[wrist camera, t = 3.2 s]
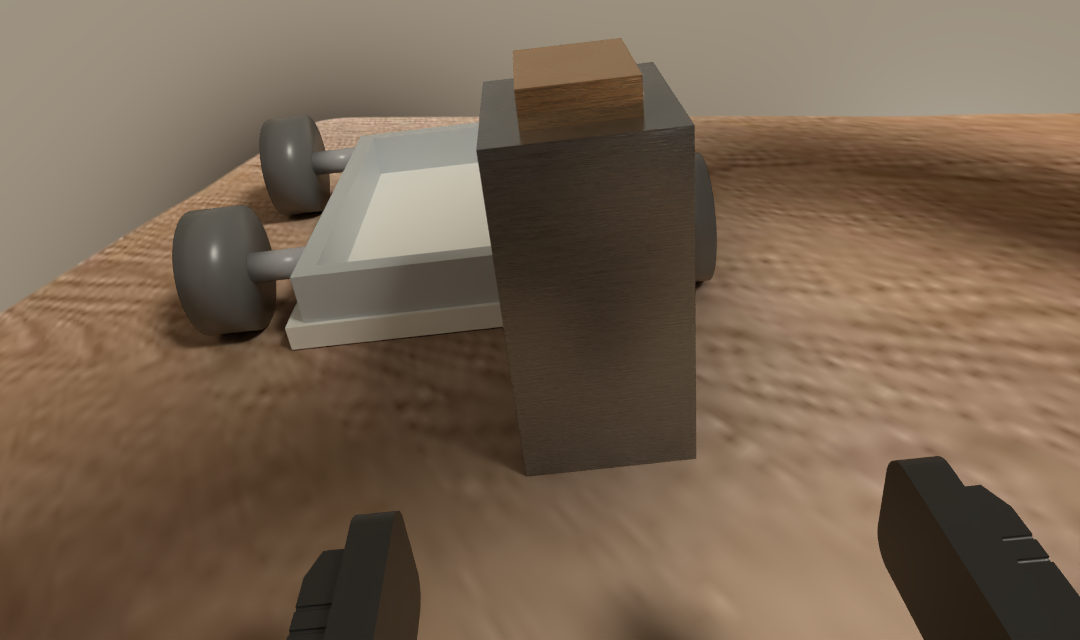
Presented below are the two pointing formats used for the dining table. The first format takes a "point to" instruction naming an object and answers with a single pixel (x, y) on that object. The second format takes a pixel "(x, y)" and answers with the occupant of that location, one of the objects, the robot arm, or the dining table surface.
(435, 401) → the dining table surface
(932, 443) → the dining table surface
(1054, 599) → the robot arm
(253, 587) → the dining table surface
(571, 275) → the tall block with cap
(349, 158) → the chassis
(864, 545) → the dining table surface
